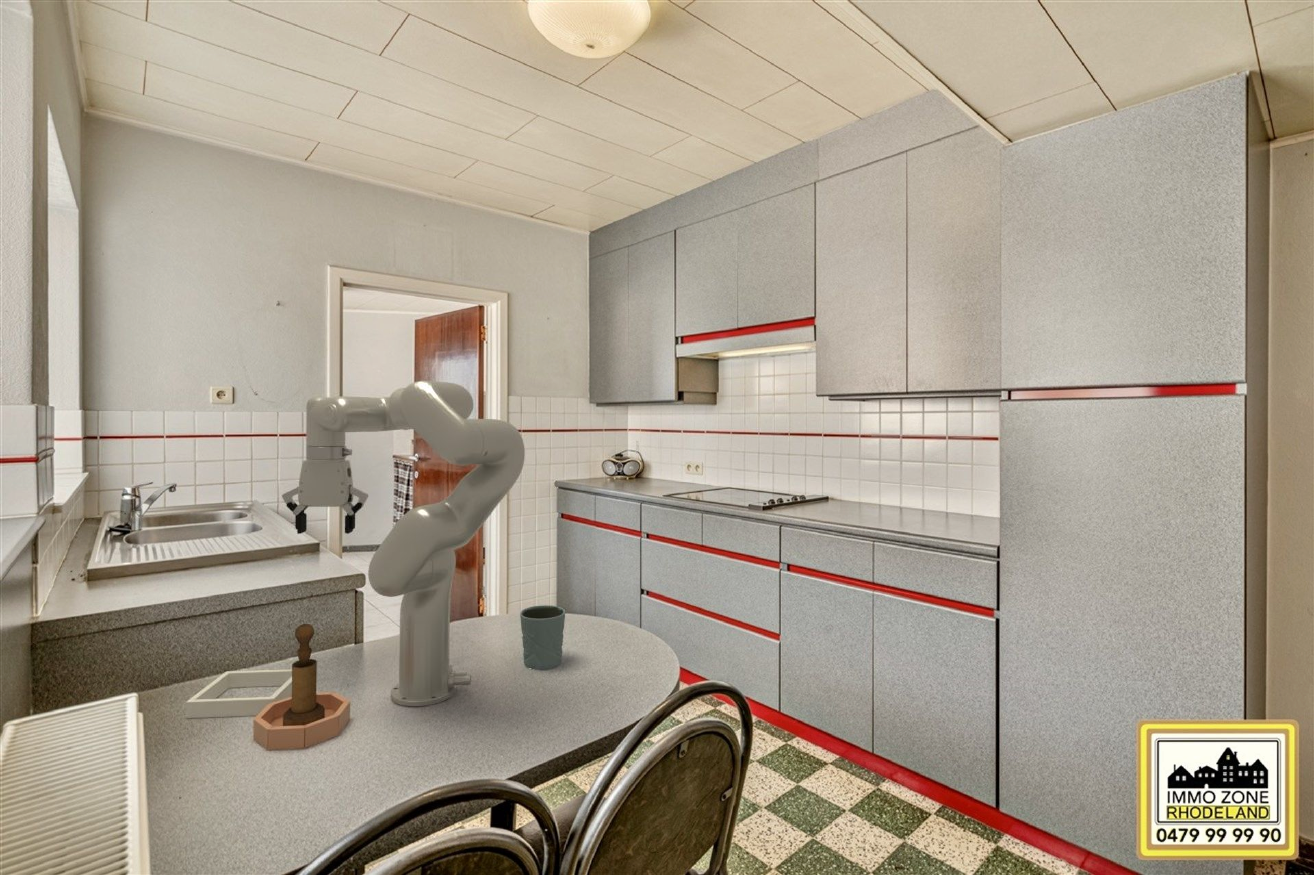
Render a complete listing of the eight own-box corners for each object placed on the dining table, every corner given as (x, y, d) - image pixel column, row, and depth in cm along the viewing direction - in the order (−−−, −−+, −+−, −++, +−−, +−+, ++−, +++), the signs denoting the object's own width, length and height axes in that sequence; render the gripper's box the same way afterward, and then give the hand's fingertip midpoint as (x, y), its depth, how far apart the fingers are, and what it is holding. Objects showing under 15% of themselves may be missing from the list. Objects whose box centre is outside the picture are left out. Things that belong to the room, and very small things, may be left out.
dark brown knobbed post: (305, 735, 110) (306, 632, 109) (273, 731, 111) (274, 629, 110) (332, 717, 116) (333, 620, 116) (302, 713, 118) (302, 617, 117)
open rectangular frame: (304, 683, 132) (304, 669, 132) (273, 714, 118) (273, 699, 118) (226, 685, 130) (226, 671, 130) (185, 718, 116) (185, 702, 116)
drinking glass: (573, 661, 148) (574, 610, 147) (543, 675, 139) (544, 621, 139) (540, 651, 153) (541, 602, 153) (509, 665, 144) (510, 612, 144)
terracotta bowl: (357, 709, 121) (357, 691, 121) (330, 747, 108) (330, 727, 108) (278, 712, 120) (278, 694, 119) (241, 751, 106) (241, 730, 106)
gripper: (373, 453, 143) (372, 529, 143) (290, 452, 140) (290, 529, 141) (362, 456, 135) (361, 535, 136) (275, 454, 133) (275, 536, 133)
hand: (325, 532), depth 138 cm, fingers open, 9 cm apart
